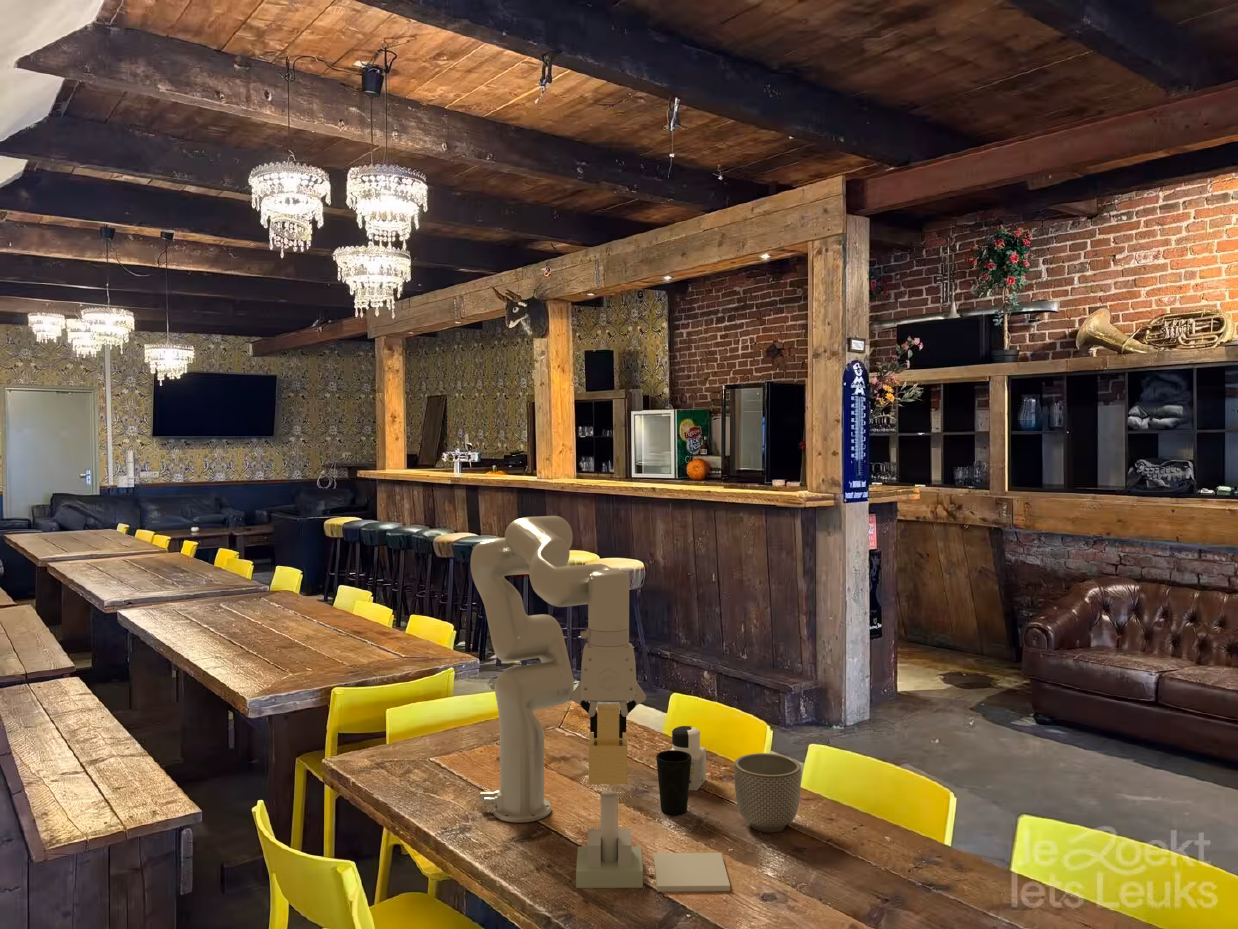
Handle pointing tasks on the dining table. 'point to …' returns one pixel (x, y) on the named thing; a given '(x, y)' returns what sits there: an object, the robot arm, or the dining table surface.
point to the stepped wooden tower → (608, 748)
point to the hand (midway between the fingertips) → (608, 735)
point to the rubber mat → (690, 872)
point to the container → (691, 753)
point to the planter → (767, 790)
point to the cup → (673, 781)
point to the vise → (609, 853)
